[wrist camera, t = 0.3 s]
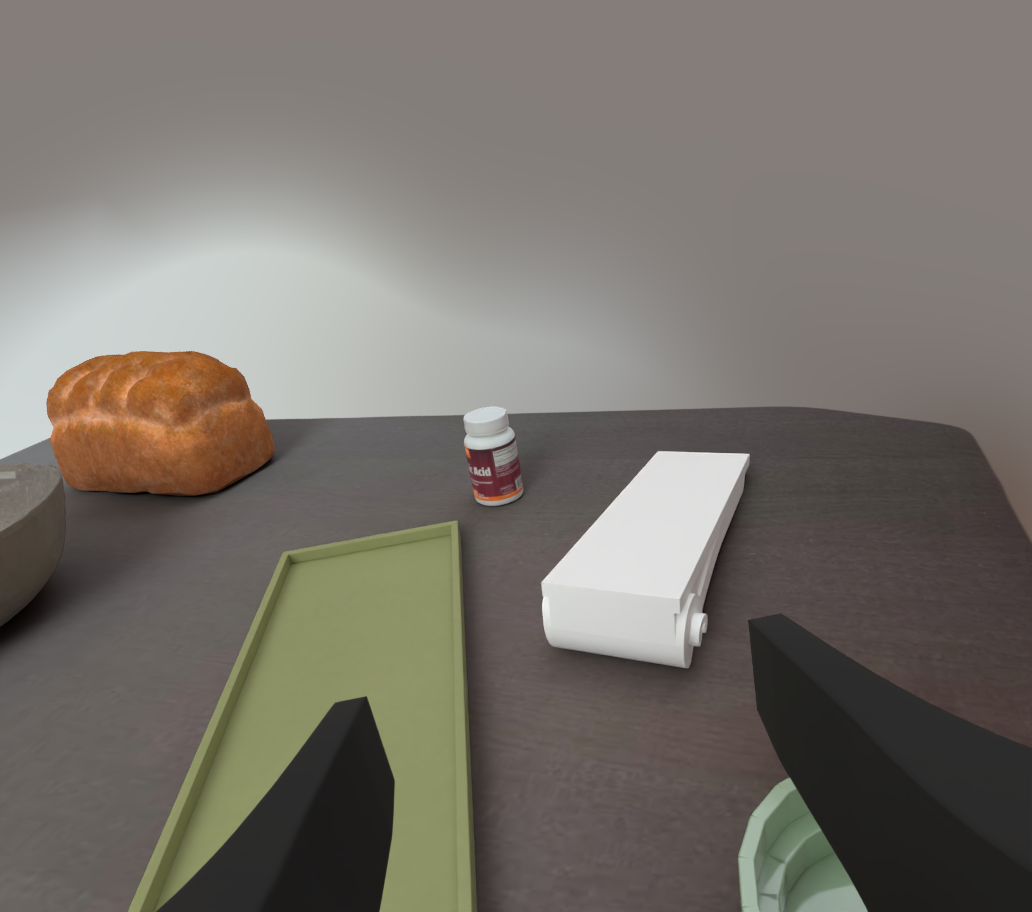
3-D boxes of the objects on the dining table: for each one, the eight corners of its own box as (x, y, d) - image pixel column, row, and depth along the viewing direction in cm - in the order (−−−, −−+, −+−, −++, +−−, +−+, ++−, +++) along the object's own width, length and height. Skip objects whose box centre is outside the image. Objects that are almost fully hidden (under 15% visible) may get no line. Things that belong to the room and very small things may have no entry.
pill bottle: (465, 499, 67) (448, 418, 64) (503, 480, 70) (489, 401, 67) (495, 512, 64) (479, 427, 60) (534, 492, 66) (521, 409, 63)
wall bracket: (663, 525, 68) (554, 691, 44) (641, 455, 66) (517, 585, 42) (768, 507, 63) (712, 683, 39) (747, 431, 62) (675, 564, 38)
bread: (207, 504, 76) (158, 368, 70) (54, 493, 87) (0, 375, 81) (291, 452, 87) (254, 332, 81) (146, 448, 98) (105, 342, 93)
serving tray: (484, 1066, 24) (476, 1041, 24) (49, 1156, 24) (31, 1132, 23) (461, 534, 61) (457, 519, 60) (287, 566, 60) (282, 551, 60)
